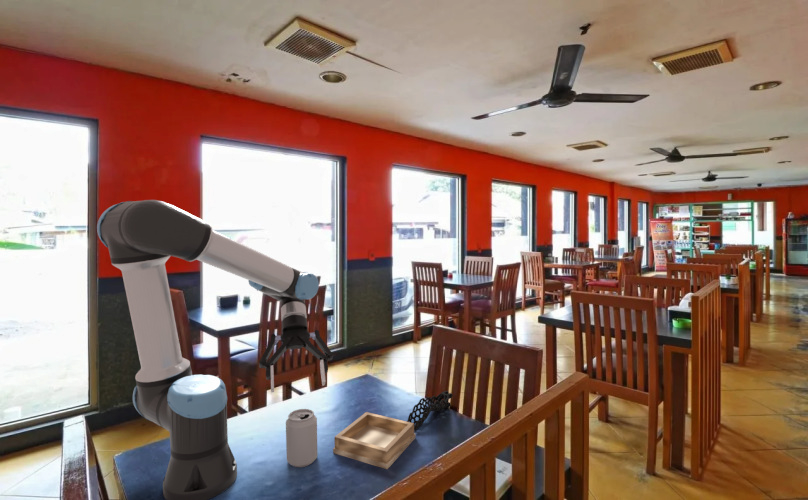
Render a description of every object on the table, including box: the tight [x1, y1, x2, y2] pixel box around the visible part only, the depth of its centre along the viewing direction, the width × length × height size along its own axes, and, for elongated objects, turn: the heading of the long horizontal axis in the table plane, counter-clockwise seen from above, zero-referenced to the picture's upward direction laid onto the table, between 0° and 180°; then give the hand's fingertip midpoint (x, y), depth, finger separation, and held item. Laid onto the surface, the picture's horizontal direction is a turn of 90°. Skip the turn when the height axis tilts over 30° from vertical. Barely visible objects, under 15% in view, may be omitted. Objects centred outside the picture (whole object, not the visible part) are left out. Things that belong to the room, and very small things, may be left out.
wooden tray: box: [332, 411, 416, 470], centre depth 107 cm, size 16×16×4 cm
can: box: [285, 408, 318, 468], centre depth 100 cm, size 8×8×12 cm
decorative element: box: [406, 390, 453, 432], centre depth 124 cm, size 22×5×6 cm, turn 145°
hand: (298, 386), depth 110 cm, fingers open, 13 cm apart
